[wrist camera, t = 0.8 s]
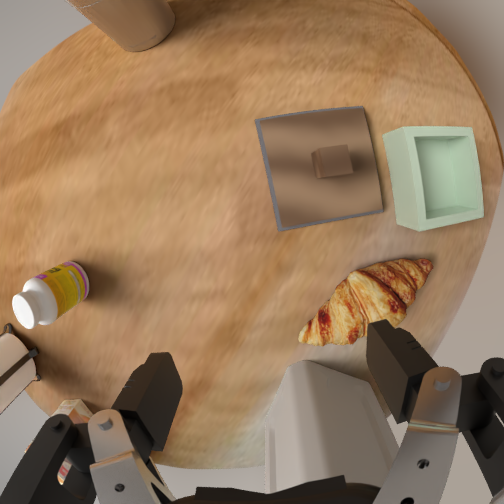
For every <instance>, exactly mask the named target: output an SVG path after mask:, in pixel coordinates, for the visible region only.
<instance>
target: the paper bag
mask: <svg viewBox="0 0 504 504" xmlns="http://www.w3.org/2000/svg"><path fill="white" fill-rule="evenodd" d="M398 451H399V446H398V444H397V442H396V439H395V437H394V435H393V433H392V431H391V428H390V426H389V424H388V422H387V419H386V417H385V415H384V413H383V411H382V409H381V407H380V404H379V402H378V400H377V398H376V396H375V394H374V392H373V390H372V388H371V386H370V384H369V383H368V382H367V381H364V380H361V379H358V378H355V377H352V376H349V375H346V374H344V373H341V372H338V371H335V370H333V369H330V368H327V367H325V366H322V365H319V364H317V363H314V362H312V361H309V360H303V361H300V362H297V363H294V364H292V365H290V366H289V367H288V368H287V370H286V372H285V374H284V377H283V379H282V382H281V384H280V386H279V389H278V391H277V393H276V396H275V398H274V400H273V403H272V405H271V407H270V409H269V412H268V414H267V416H266V419H265V494H270V493H274V492H278V491H281V490H284V489H288V488H291V487H294V486H297V485H300V484H303V483H305V482H309V481H315V480H321V479H326V478H331V477H336V476H340V475H344V476H345V481H346V483H350V482H354V483H365V484H371V485H375V486H378V487H382V485H383V483H384V481H385V479H386V477H387V475H388V473H389V471H390V469H391V467H392V465H393V462H394V460H395V458H396V456H397V453H398Z"/></svg>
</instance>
